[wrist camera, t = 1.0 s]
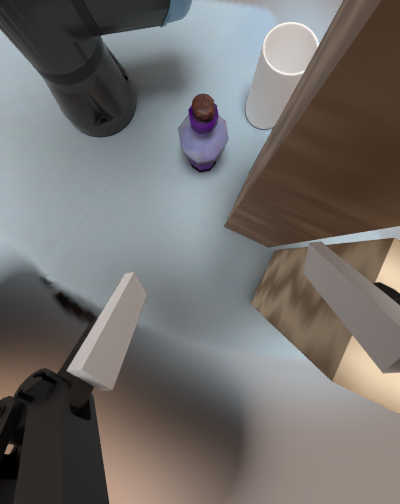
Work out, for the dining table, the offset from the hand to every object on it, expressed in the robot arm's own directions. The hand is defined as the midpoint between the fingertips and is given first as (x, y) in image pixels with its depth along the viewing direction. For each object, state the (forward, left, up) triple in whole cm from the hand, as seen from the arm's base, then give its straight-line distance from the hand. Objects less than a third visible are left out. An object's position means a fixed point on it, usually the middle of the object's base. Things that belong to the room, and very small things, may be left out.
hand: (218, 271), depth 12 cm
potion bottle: (-19, -10, -20) cm, 30 cm away
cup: (-33, -1, -20) cm, 39 cm away
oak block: (-2, +16, -20) cm, 26 cm away
